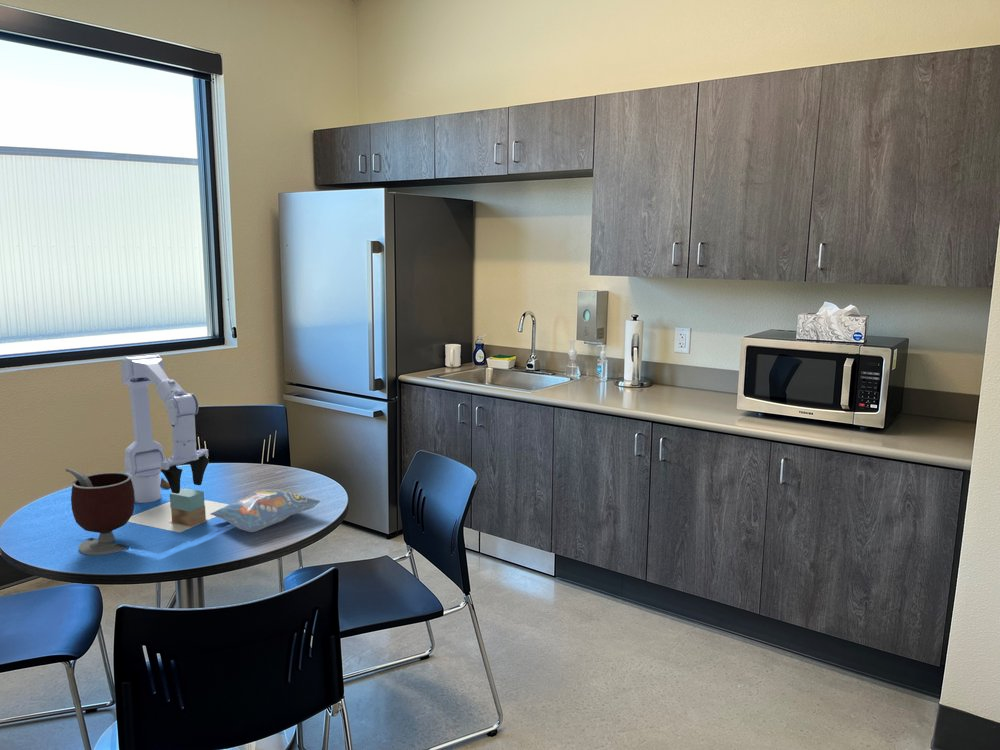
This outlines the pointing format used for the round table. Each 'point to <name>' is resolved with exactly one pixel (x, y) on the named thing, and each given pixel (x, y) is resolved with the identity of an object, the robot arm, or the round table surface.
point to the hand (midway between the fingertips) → (186, 488)
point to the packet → (264, 509)
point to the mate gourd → (102, 508)
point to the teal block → (187, 500)
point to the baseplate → (170, 516)
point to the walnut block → (188, 516)
